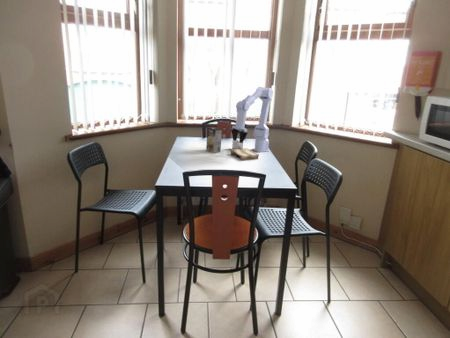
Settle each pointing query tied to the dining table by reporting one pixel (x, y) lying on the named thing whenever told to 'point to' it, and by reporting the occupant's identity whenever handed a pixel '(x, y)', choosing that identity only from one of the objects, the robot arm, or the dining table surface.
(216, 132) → the coffee box
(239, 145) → the block
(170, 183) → the dining table surface
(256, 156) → the stand
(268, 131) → the robot arm
